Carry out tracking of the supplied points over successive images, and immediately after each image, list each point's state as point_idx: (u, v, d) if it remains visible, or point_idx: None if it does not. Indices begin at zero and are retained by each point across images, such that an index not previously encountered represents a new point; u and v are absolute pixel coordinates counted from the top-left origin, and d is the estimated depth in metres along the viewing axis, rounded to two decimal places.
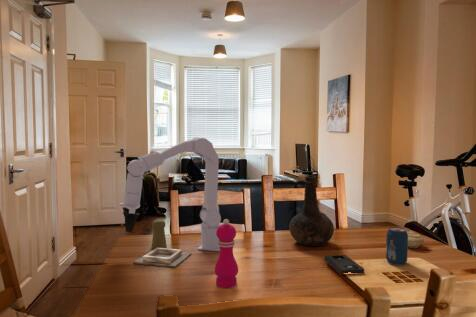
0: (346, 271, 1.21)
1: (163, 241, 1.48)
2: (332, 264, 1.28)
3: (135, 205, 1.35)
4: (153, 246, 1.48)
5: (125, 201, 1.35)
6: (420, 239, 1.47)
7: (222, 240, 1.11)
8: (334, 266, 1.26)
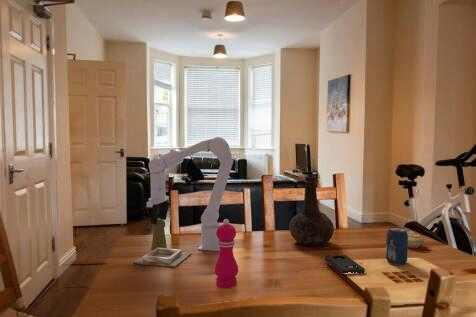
0: (347, 271, 1.21)
1: (163, 241, 1.48)
2: (333, 264, 1.28)
3: (157, 199, 1.45)
4: (153, 246, 1.48)
5: (151, 196, 1.47)
6: (420, 239, 1.47)
7: (222, 240, 1.11)
8: (335, 266, 1.26)
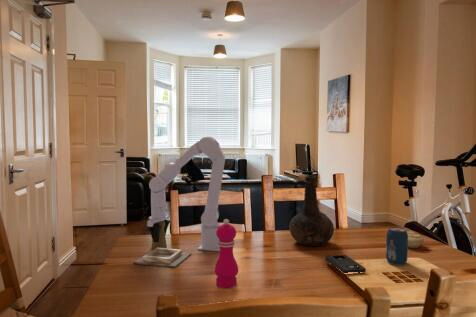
0: (348, 271, 1.21)
1: (163, 241, 1.48)
2: (333, 264, 1.28)
3: (158, 218, 1.46)
4: (153, 246, 1.48)
5: (151, 215, 1.48)
6: (420, 239, 1.47)
7: (222, 240, 1.11)
8: (336, 266, 1.26)
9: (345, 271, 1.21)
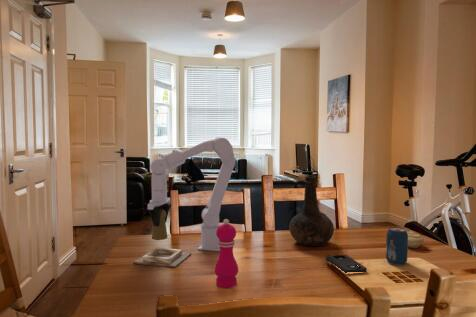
0: (349, 271, 1.21)
1: (164, 231, 1.44)
2: (334, 264, 1.28)
3: (159, 201, 1.41)
4: (154, 236, 1.43)
5: (152, 198, 1.43)
6: (420, 239, 1.47)
7: (222, 240, 1.11)
8: (337, 266, 1.26)
9: (346, 271, 1.21)
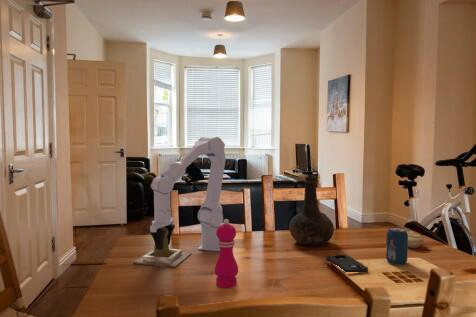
0: (351, 271, 1.21)
1: (166, 250, 1.35)
2: (335, 264, 1.28)
3: (162, 223, 1.32)
4: None
5: None
6: (420, 239, 1.47)
7: (222, 240, 1.11)
8: None
9: (348, 271, 1.21)
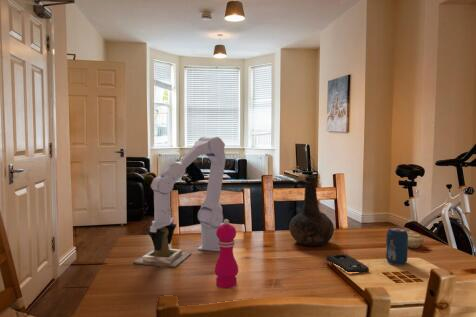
0: (352, 270, 1.21)
1: (166, 250, 1.35)
2: (336, 264, 1.28)
3: (162, 223, 1.32)
4: None
5: None
6: (420, 239, 1.47)
7: (222, 240, 1.11)
8: None
9: (349, 271, 1.21)
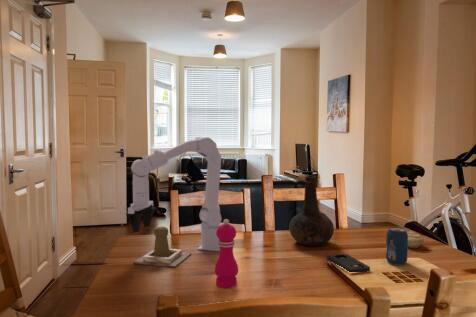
0: (354, 270, 1.22)
1: (166, 250, 1.35)
2: (337, 264, 1.28)
3: (140, 205, 1.34)
4: None
5: (133, 201, 1.36)
6: (420, 239, 1.47)
7: (222, 240, 1.11)
8: None
9: (351, 270, 1.21)
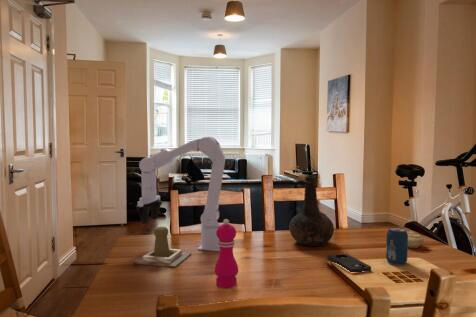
0: (355, 270, 1.22)
1: (166, 250, 1.35)
2: None
3: (148, 199, 1.47)
4: None
5: (142, 195, 1.49)
6: (420, 239, 1.47)
7: (222, 240, 1.11)
8: (341, 265, 1.27)
9: (352, 270, 1.22)
